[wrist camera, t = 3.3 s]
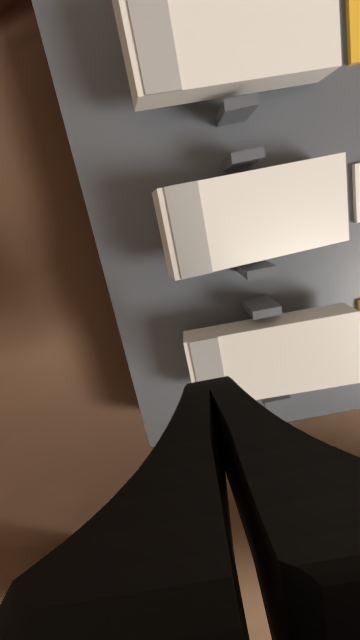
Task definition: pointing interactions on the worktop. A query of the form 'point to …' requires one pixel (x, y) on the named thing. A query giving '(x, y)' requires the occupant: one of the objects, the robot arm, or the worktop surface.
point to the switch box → (193, 165)
